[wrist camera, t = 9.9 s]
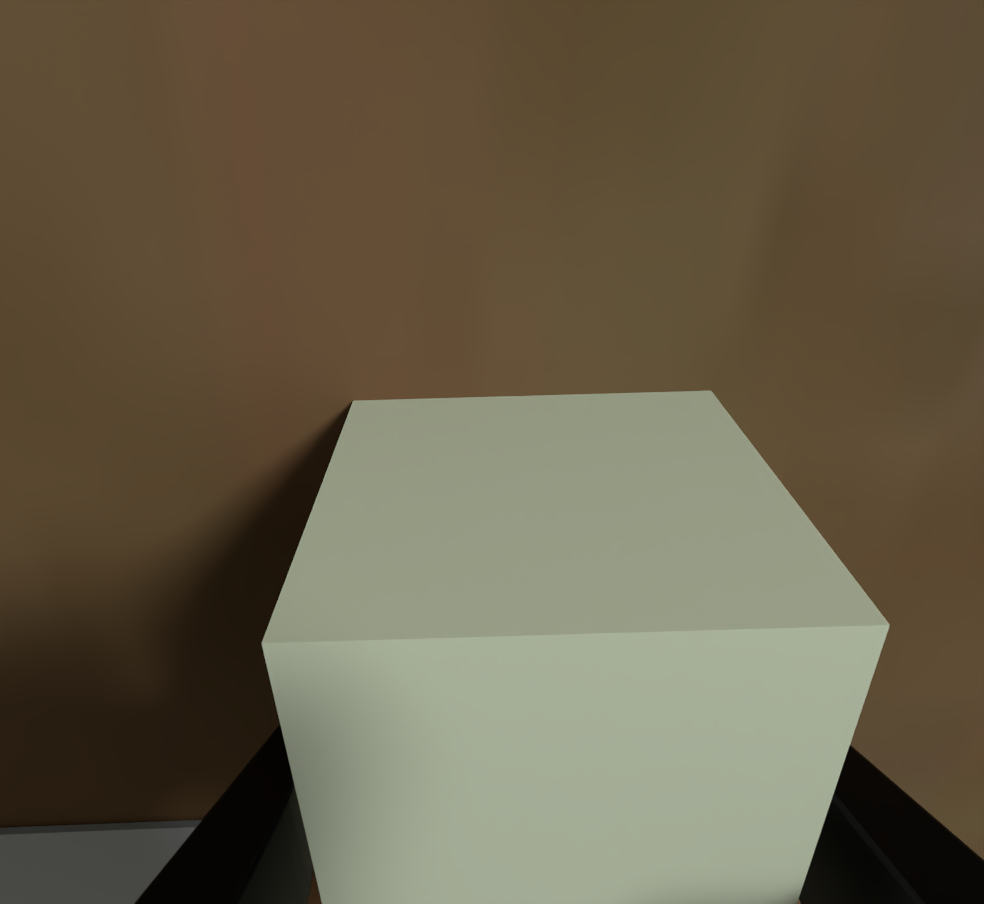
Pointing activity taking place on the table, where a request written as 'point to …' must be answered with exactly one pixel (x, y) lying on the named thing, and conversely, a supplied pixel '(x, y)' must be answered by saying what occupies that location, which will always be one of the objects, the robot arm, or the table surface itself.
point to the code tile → (86, 861)
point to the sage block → (564, 657)
